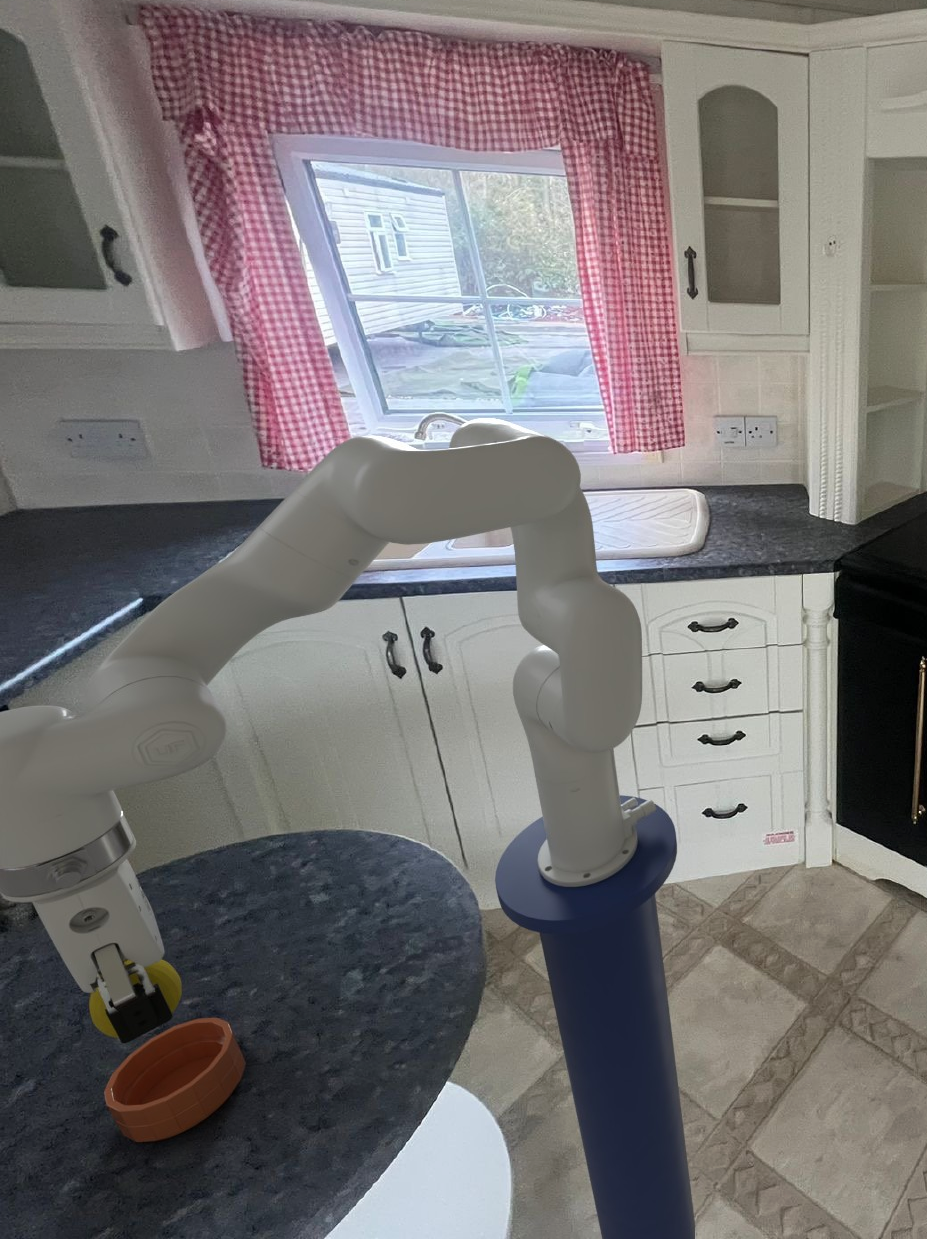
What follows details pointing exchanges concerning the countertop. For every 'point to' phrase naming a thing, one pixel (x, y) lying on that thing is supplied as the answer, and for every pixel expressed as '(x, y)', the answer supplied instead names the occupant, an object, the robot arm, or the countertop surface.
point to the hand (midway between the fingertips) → (141, 1005)
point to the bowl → (175, 1080)
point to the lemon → (157, 974)
